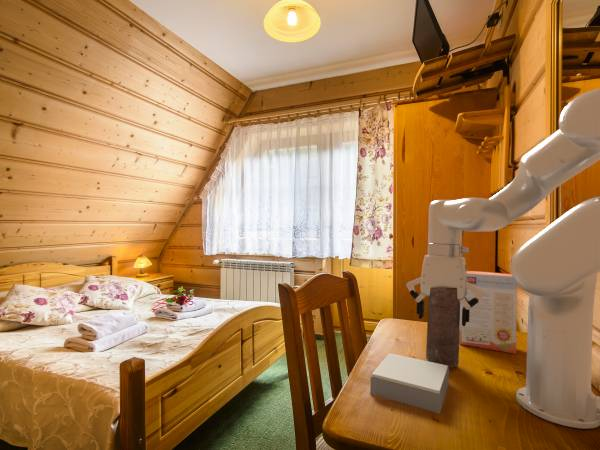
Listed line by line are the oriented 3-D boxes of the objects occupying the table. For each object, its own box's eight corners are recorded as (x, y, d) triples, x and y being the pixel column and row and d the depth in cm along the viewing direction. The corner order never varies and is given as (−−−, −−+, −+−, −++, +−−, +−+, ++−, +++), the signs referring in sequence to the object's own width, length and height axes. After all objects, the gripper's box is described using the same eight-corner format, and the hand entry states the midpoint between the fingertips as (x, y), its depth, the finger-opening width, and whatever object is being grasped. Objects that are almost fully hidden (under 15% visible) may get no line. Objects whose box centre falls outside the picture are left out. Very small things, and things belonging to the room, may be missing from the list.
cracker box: (515, 348, 93) (516, 273, 93) (516, 355, 88) (517, 276, 87) (459, 338, 100) (461, 269, 100) (458, 344, 95) (459, 271, 95)
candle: (463, 373, 76) (465, 287, 76) (429, 371, 77) (431, 285, 77) (453, 360, 83) (454, 281, 83) (422, 357, 85) (424, 280, 84)
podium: (448, 384, 71) (448, 365, 71) (440, 413, 60) (440, 391, 60) (388, 369, 77) (388, 352, 77) (370, 393, 66) (370, 373, 66)
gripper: (485, 252, 79) (483, 323, 79) (410, 247, 88) (408, 311, 88) (484, 254, 72) (482, 332, 73) (404, 249, 81) (402, 318, 81)
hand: (442, 321), depth 80 cm, fingers open, 9 cm apart
